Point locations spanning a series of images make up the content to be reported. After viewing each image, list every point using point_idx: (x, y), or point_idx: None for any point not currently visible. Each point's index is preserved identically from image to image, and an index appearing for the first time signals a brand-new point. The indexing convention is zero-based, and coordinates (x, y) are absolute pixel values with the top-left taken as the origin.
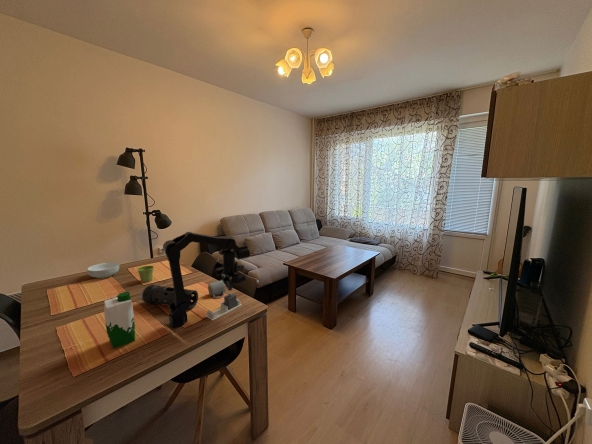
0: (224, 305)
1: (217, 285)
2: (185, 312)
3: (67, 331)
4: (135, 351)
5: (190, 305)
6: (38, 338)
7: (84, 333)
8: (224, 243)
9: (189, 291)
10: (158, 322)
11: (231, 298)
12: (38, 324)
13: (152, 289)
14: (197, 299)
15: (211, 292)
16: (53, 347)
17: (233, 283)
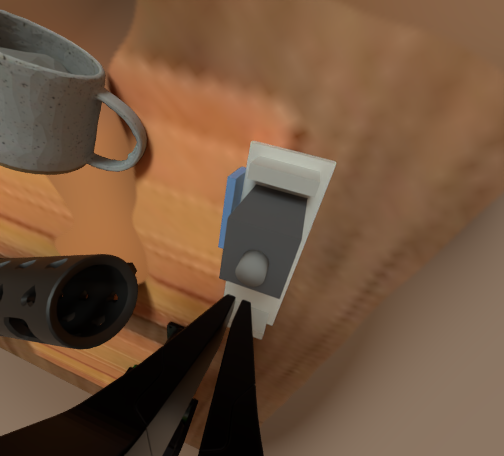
0: None
1: (12, 123)
2: (193, 414)
3: (58, 361)
4: (200, 401)
5: (119, 279)
6: (57, 372)
7: (80, 365)
8: None
9: (49, 340)
10: (135, 334)
11: (286, 278)
12: (14, 350)
13: None
14: (99, 258)
15: (70, 171)
16: (94, 386)
17: (256, 416)
